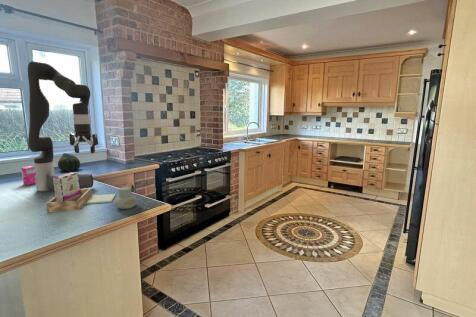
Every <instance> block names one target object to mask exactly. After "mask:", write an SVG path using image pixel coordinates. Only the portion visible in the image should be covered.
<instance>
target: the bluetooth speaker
mask: <svg viewBox="0 0 476 317" xmlns="http://www.w3.org/2000/svg"><path fill="white" fill-rule="evenodd" d="M60 175H61V174H60ZM60 175H59V174H58V175H55V176H50V177H48V178H47V188H48V190H50V191H55V190H54V183H53V177H56V176H60ZM78 177H79V185H80V189H89V188H91V189H92V188H93V186H94V176H93V174H92V173H78Z"/></svg>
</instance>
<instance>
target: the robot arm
mask: <svg viewBox="0 0 476 317" xmlns="http://www.w3.org/2000/svg"><path fill="white" fill-rule="evenodd" d="M27 79H28V89H29V90H28V91H29V103H28V105H29V108H28V109H29V111H28V112H29V129H28V137H27V143H28V144H27V145H28V146H27V147H28V148H29V150H30V151H31V152H32V153H39V152H41V153H40V154H39V155H37V156H35V157H34V158H33V161H34V167H35V172H36V175H35V183H36V184H35V188H36V189H35V190H36V192H49V191H51V190H48V188H47V178H48V177H50V176H56V174H55V166H54V144H53V140H52V138H51V136H49V135H40V133H41V129H42V127H43V126H44V124H45V123H46V122H47V120H48V118H50V103H49V101H48V99H47V97H46V96H45V95H44V93H43V91H42V89H41V86H40V81H51V82H53V83H54V85H55V86H56V87H57V88H58V89H60V90H61V91H63V92H65V93H66V95H67V96H68V97H70V98H73V99H79V101H78V102H75V103H73V104H72V112H73V115H72V116H73V118H72V120H73V128H74V133H69V145H70V146H73V148H74V152H75V154H80V144H81V143H87V144H88V145H89V146H90V148H89V149H90V154H95V152H96V146H97V145H99V140H98V134H97V133H93V134H92V129H91V120H90V119H91V118H90V115H89V103H90V99H91V98H90V97H91V90H90V88H89V86H88V85H86V84H79V83H77V84H76V82H75V81H73V80H72V79H71V78H69V77H67V76H65V75H63V73H61V72H59V71H58V70H57V69H56V68H55V67H54V66H52V65H50V64H48V63H46V62H39V61H32V60H31V61H29V63H28V64H27Z"/></svg>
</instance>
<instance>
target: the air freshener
mask: <svg viewBox="0 0 476 317" xmlns="http://www.w3.org/2000/svg"><path fill="white" fill-rule="evenodd" d="M132 192H133V190H132V187H130V186H123V187H120V188H119V189H118V196H117V197H116V198H114V202H113V203H114V204H113V205H114V206H115V207H116V208H118V209H121V210H129V209H131V208H134V207H135V206H136V205H137V204H138V197H136V196H135V195H133V193H132Z"/></svg>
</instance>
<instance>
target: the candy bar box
mask: <svg viewBox="0 0 476 317" xmlns="http://www.w3.org/2000/svg"><path fill="white" fill-rule="evenodd" d="M78 174H79V172H76V171H73V172H72V171H69V172H68V173H67V172H66V173H63V174H60V176H58V175H55V176H56V177H53V183H54V190H53V191H54V195H55V196H56V202H64V201H77V200H78V199H79V198H80V197H81V193H80V185H79V177H78ZM55 196H54V197H55Z"/></svg>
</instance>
